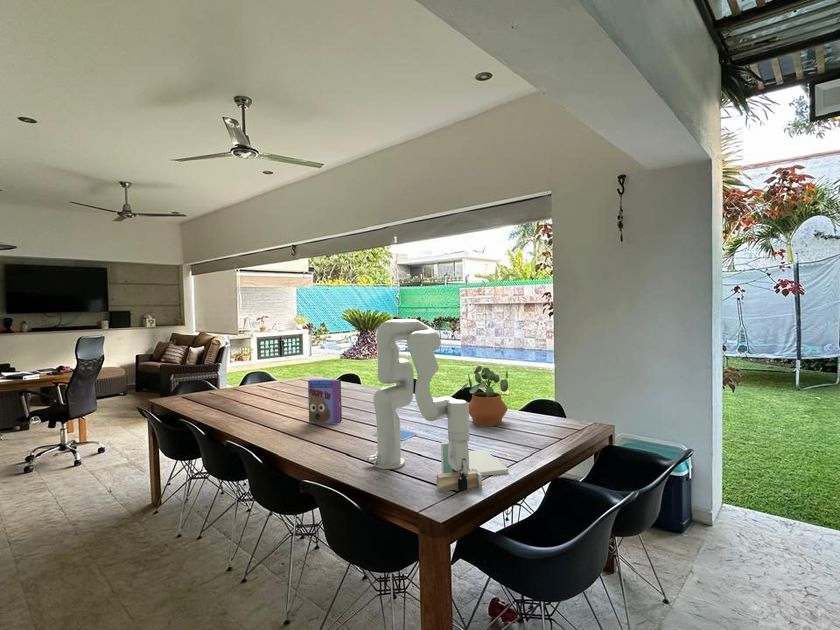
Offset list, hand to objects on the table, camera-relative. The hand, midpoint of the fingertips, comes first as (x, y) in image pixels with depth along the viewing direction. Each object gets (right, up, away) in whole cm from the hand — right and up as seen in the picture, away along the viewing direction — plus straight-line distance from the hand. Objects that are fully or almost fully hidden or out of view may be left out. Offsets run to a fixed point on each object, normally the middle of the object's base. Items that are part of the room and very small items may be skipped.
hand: (459, 485), depth 158 cm
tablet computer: (-26, 0, +66) cm, 71 cm away
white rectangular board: (+10, 0, +22) cm, 24 cm away
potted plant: (+21, +2, +82) cm, 85 cm away
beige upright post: (0, -1, 0) cm, 1 cm away
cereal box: (-67, 0, +93) cm, 114 cm away
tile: (-1, 0, +13) cm, 13 cm away
